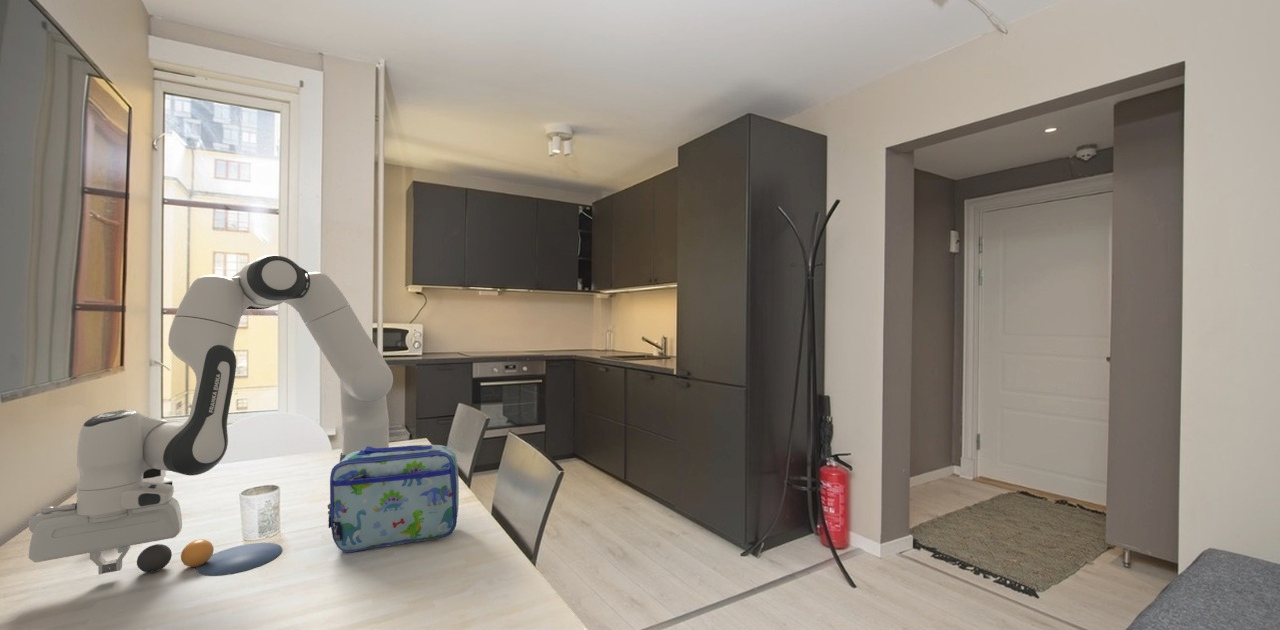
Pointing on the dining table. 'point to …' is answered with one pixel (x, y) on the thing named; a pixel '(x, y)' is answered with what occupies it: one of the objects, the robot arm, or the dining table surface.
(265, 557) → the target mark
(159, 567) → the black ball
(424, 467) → the lunch box
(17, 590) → the dining table surface
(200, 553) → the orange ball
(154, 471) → the medicine bottle
